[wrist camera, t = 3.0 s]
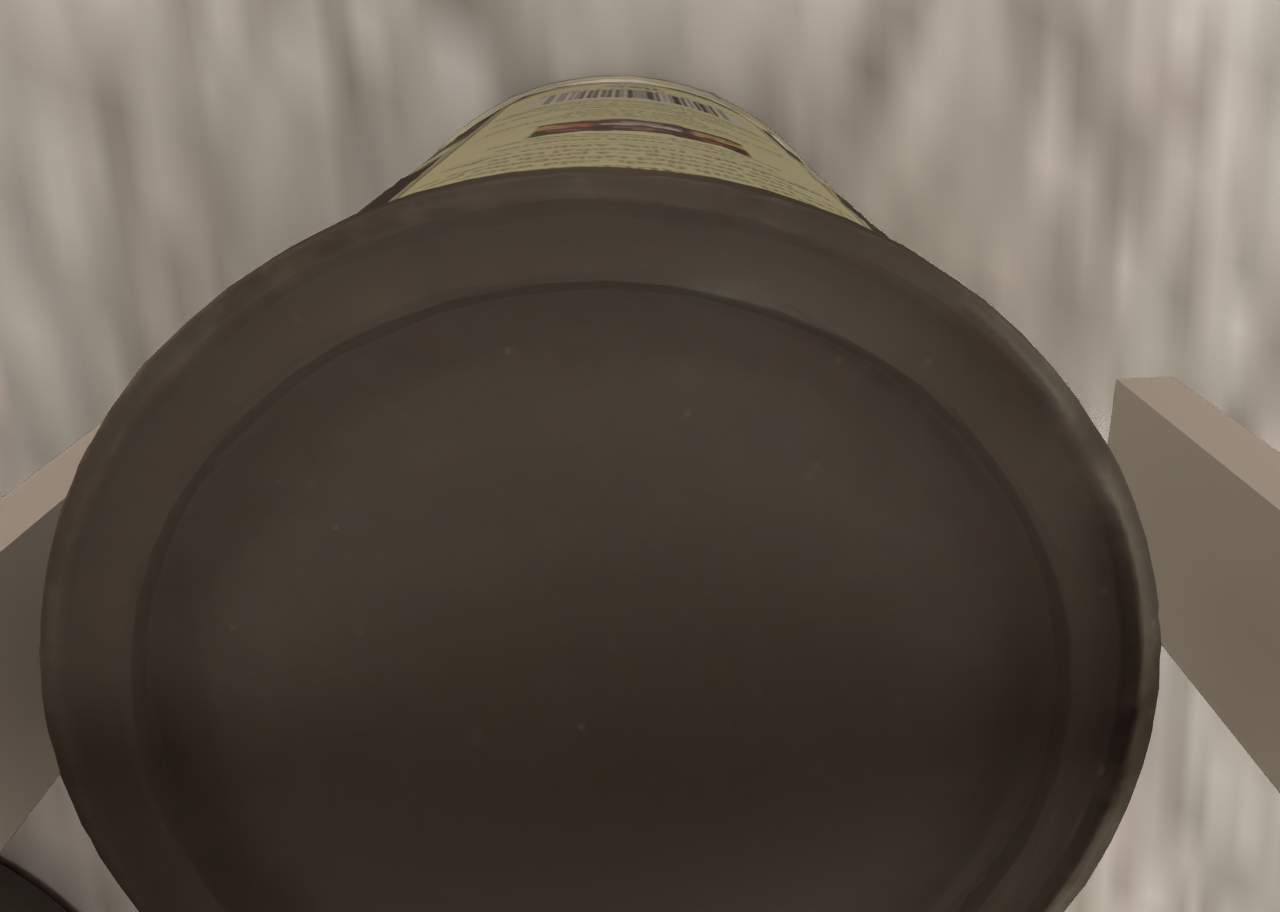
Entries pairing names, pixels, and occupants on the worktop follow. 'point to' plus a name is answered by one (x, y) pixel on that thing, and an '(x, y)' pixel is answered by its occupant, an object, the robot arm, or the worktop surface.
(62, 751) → the coffee can
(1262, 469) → the robot arm
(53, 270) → the worktop surface
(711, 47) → the worktop surface
